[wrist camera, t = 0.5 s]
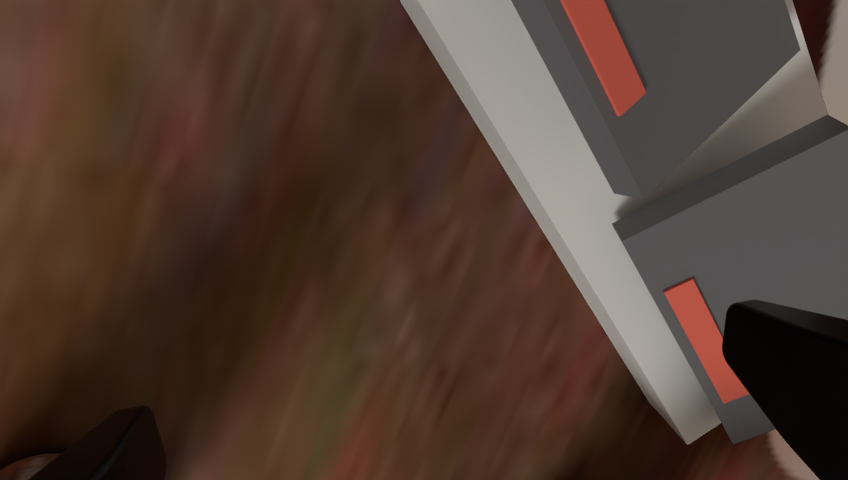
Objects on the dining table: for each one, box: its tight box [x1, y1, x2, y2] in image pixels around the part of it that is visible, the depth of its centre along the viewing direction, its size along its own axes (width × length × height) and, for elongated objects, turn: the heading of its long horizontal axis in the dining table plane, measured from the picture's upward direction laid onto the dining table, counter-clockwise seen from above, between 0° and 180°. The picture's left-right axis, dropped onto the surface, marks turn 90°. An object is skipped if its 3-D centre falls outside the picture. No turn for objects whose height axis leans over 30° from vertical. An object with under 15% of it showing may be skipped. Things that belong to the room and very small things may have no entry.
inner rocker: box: [612, 115, 848, 444], centre depth 20 cm, size 11×7×1 cm, turn 33°
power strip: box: [400, 0, 828, 445], centre depth 20 cm, size 25×10×4 cm, turn 33°
